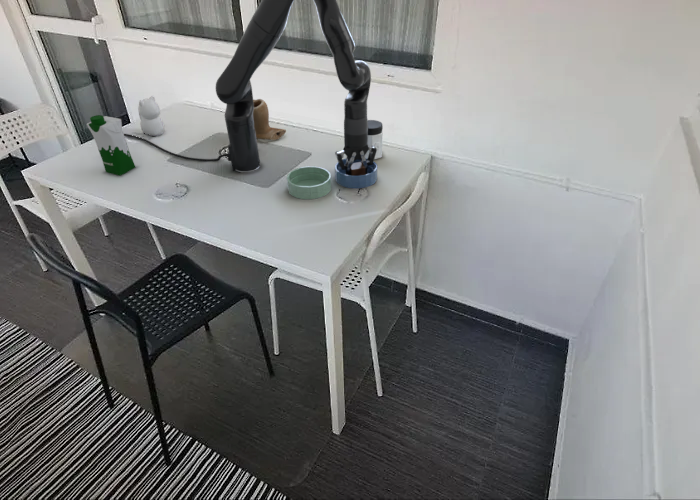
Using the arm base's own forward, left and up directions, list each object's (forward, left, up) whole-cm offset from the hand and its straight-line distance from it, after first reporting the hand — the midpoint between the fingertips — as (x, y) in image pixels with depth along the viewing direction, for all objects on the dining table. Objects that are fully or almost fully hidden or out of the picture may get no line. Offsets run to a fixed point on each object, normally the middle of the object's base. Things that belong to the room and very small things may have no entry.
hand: (356, 177), depth 153 cm
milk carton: (-84, +7, -1) cm, 84 cm away
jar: (+5, +19, -1) cm, 20 cm away
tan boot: (-38, +35, -1) cm, 52 cm away
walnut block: (0, 0, 0) cm, 0 cm away
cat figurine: (-85, +40, -1) cm, 94 cm away
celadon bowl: (-15, -7, -1) cm, 17 cm away
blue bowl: (0, 0, -1) cm, 1 cm away
